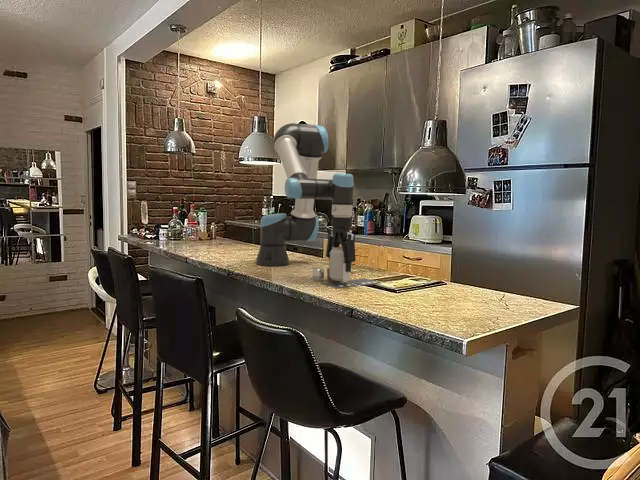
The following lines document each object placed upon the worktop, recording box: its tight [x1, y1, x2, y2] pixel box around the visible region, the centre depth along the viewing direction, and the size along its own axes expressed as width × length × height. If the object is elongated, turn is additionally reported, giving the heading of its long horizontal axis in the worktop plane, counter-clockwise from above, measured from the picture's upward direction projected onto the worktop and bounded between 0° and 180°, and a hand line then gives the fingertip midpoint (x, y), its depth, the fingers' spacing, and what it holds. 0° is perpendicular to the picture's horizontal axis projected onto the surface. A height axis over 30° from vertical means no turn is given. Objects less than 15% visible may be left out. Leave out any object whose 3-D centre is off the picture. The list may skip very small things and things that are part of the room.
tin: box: [312, 267, 325, 282], centre depth 181 cm, size 4×4×5 cm
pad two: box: [320, 281, 359, 289], centre depth 174 cm, size 10×10×1 cm
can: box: [329, 245, 345, 281], centre depth 173 cm, size 8×8×12 cm
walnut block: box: [326, 267, 340, 282], centre depth 181 cm, size 5×5×5 cm
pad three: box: [346, 278, 382, 287], centre depth 180 cm, size 10×10×1 cm
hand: (339, 278), depth 173 cm, fingers closed on can, 7 cm apart
